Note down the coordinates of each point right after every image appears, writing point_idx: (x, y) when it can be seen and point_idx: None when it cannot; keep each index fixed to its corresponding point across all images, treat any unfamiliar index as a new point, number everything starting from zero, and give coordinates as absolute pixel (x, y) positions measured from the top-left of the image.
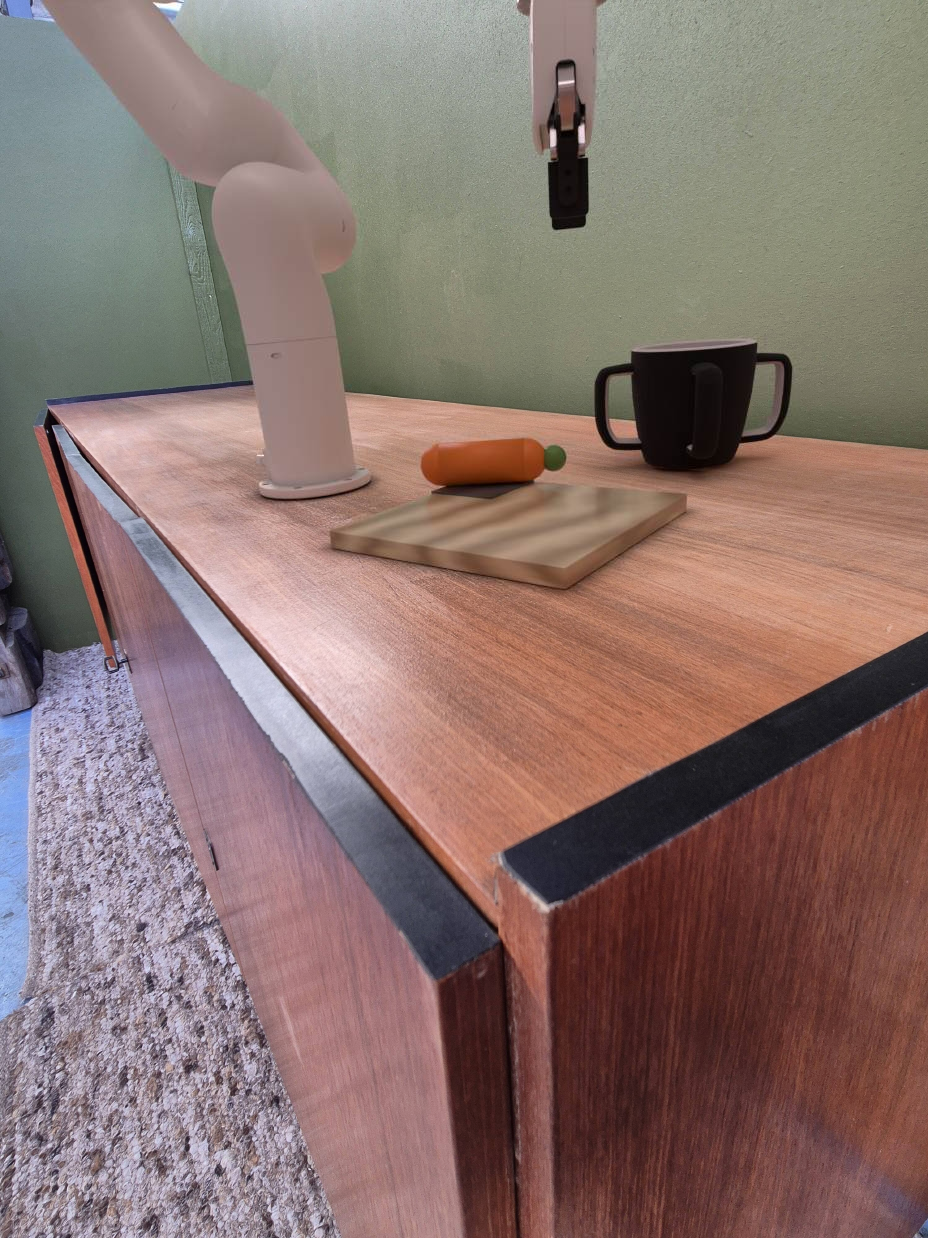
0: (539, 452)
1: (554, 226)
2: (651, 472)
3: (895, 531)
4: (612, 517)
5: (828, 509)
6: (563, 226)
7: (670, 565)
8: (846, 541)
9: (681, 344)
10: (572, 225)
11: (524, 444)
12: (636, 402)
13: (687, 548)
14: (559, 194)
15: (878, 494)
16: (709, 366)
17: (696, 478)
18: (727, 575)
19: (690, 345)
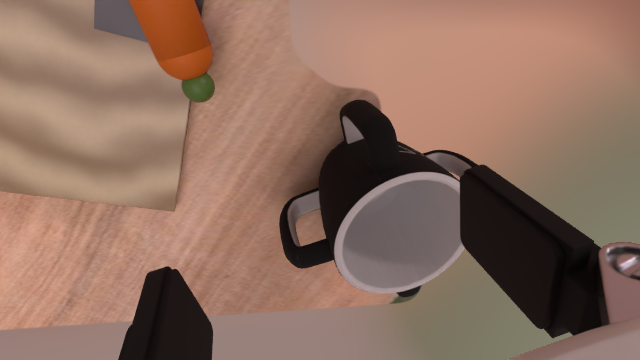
0: (174, 77)
1: (461, 177)
2: (321, 147)
3: None
4: (70, 175)
5: (205, 279)
6: (460, 198)
7: (22, 221)
8: (129, 294)
9: None
10: (461, 217)
11: (164, 60)
12: (357, 158)
13: (71, 222)
14: (127, 339)
15: (251, 297)
16: (304, 262)
17: (296, 189)
18: (21, 253)
19: None
